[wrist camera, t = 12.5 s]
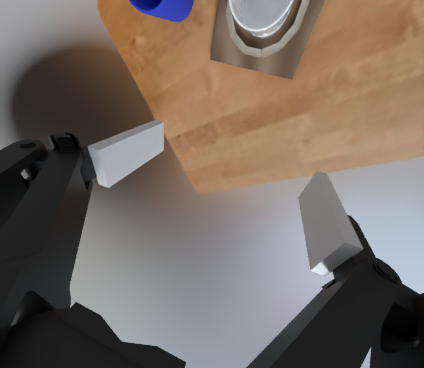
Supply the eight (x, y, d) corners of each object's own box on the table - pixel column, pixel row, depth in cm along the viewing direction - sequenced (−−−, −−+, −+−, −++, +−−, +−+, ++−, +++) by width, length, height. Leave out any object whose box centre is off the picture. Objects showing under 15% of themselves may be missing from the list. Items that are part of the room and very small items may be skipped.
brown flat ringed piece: (351, -66, 21) (359, -82, 19) (291, 79, 31) (292, 79, 28) (233, -79, 23) (228, -94, 21) (212, 59, 33) (207, 59, 31)
